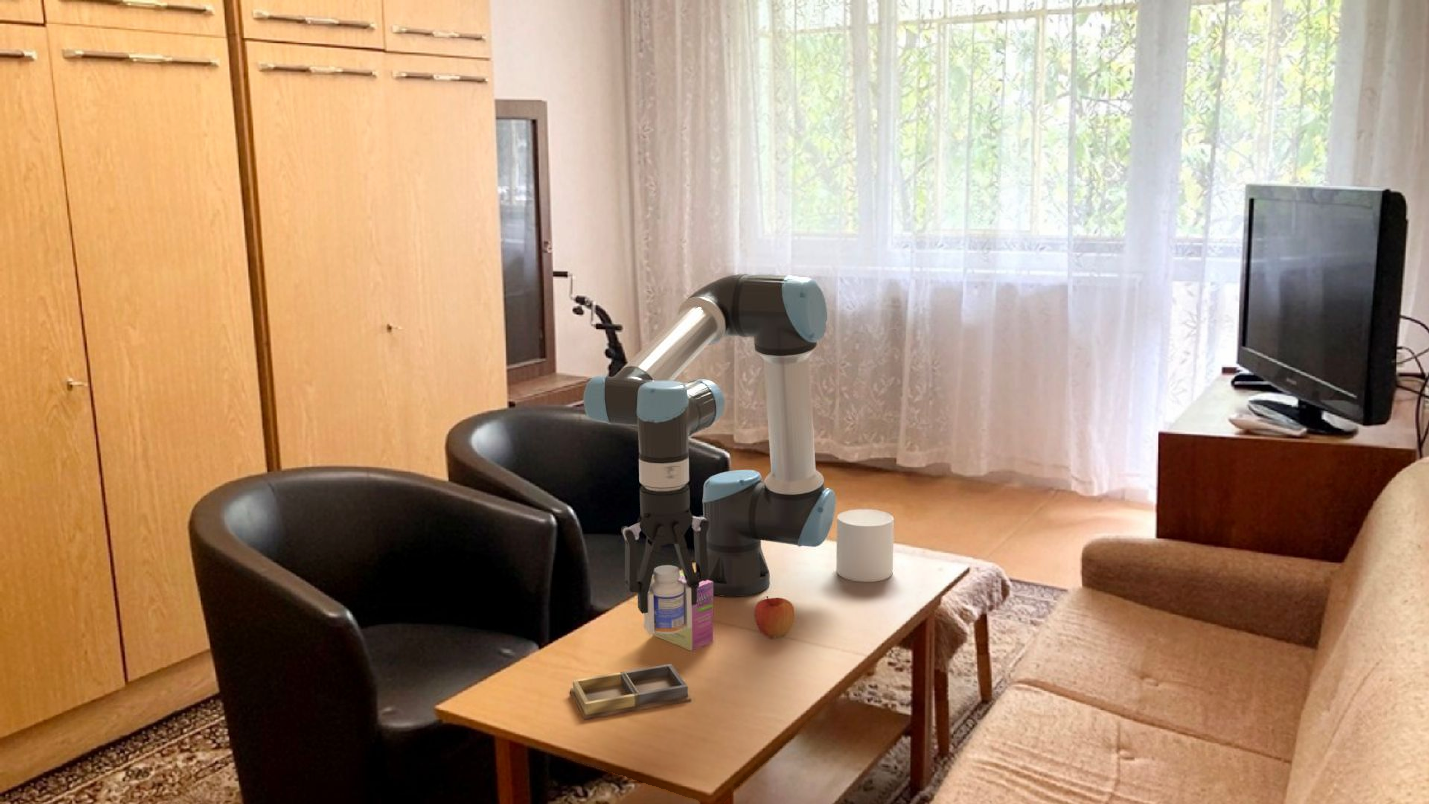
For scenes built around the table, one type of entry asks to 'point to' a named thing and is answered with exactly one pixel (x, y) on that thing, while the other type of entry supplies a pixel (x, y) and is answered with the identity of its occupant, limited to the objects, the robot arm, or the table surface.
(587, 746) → the table surface
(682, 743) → the table surface
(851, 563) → the cup
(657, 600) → the pill bottle
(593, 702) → the two-compartment tray
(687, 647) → the box
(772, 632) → the apple
